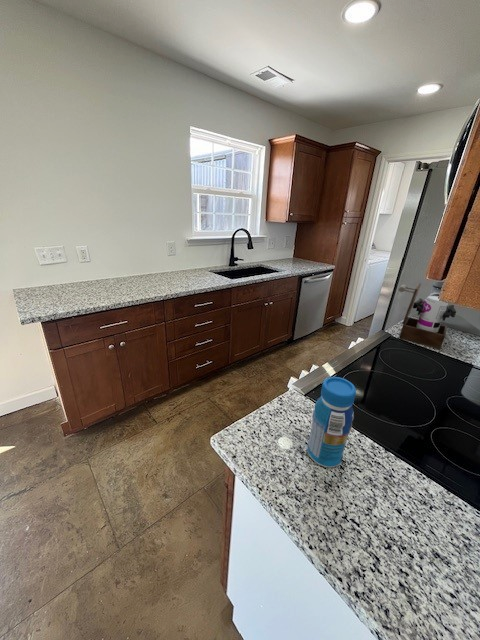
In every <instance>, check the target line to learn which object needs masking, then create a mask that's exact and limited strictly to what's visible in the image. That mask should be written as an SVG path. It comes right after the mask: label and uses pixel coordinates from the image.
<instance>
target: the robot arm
mask: <svg viewBox="0 0 480 640" xmlns="http://www.w3.org/2000/svg"><path fill="white" fill-rule="evenodd" d="M443 283H444V282H436V281H435V280H434V281H433V284H432V286H431V290H430V292H429V295H428V296H439V294H440V291H441V288H442V285H443ZM437 288H438V289H437ZM424 302H425V300H424V299H422V298H421V297H420V298H419V299H418V300H415V302H414V304H413V307H412V309H416V312H417V316H420V314H421V311H422V308H423V305H424ZM456 314H457V310H456V309H455V305H454V304H450V305H449V304H448V306H447V309H446V311H445V314H444V316H443V319H442V322H445V321H446V319H447V318H450V317H451V318H455V316H456Z"/></svg>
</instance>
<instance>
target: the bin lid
mask: <svg viewBox="0 0 480 640" xmlns="http://www.w3.org/2000/svg"><path fill="white" fill-rule="evenodd" d="M421 286H422V282H419V283H418V284H417V285H416V288H414V287H409V286H407V285H406V284H401V285H400V286H399V287H398V292H400V293H403V292H406V293H407V292H408V293H411V294H412V297H411V299H410V302H409V305H408V307H407V310H406V313H405V314H404V315H405V316H404V318H403V321H402V325H403V324H405V322H406V320H407V319H408V317H410V314H411V311H412V309H413V305H414V303H415V302H416V299H417V297H418V294H419V291H420V288H421Z"/></svg>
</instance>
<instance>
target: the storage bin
mask: <svg viewBox="0 0 480 640" xmlns="http://www.w3.org/2000/svg"><path fill="white" fill-rule="evenodd" d="M418 320H419V318H414V317H410V316H409V317H408V319H407V320H406V322H405V324H402V326H401V329H400V333H399V337H398V339H400V340H403V341H407V342H410V343H414V344H417V345H421V346H424V347H427V348H431V349H435V350H439V351H441V348H442V346H443V343H444V341H445V339H446V335H447V331H448V325H444V324H441V325H440V328H439V330H438V332H436V333H435V332H431V331H427V330H423V329H419V328H417V327H416V326H417V323H418Z"/></svg>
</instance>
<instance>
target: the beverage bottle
mask: <svg viewBox="0 0 480 640" xmlns="http://www.w3.org/2000/svg"><path fill="white" fill-rule="evenodd" d="M356 396H357V388H356V386H355V385H354V384H353V383H352V382H351V381H349V380H347V379H346V378H344V377H339V376H330V377H326V378H325V379H324V380H323V382H322V385H321V389H320V397H319V398H318V399H317V400H316V401H315V405H314V410H313V412H312V415H311V416H312V417H311V420H312V422H311V428H310V433H309V439H308V442H307V447H306V451H307V453H308V456H309V458H310V459H311V460H312V461H313V462H315V464H317V465H319V466H321V467H324V468H335V467H338V466H339V465H340V464H341V463H342V462H343V459H344V454H345V448H346V446H347V441H348V437H349V434H350V433H351V432H352V428H353V421H354V418H355V412H354V407H353V405H354V402H355V399H356Z"/></svg>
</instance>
